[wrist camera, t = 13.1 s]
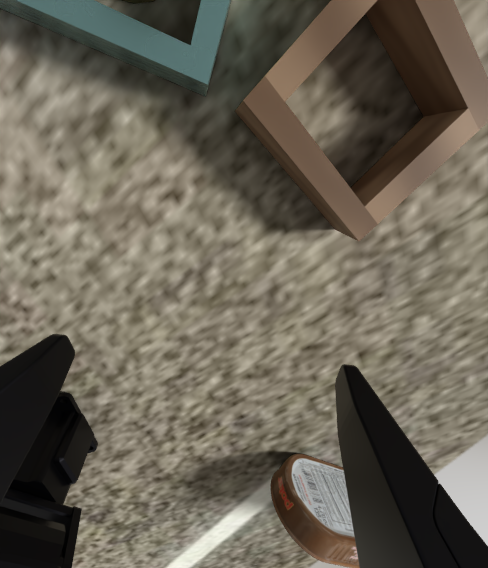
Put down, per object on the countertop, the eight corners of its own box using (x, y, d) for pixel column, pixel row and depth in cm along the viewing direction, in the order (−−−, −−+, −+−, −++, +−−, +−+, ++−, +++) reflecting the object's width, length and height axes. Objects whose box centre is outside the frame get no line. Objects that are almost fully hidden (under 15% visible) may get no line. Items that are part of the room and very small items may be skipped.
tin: (260, 459, 30) (283, 562, 23) (278, 439, 29) (307, 537, 22) (364, 491, 35) (411, 584, 27) (381, 474, 34) (434, 565, 27)
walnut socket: (334, 229, 22) (358, 241, 18) (234, 111, 18) (243, 100, 15) (452, 117, 20) (501, 109, 17) (369, -42, 16) (412, -93, 13)
